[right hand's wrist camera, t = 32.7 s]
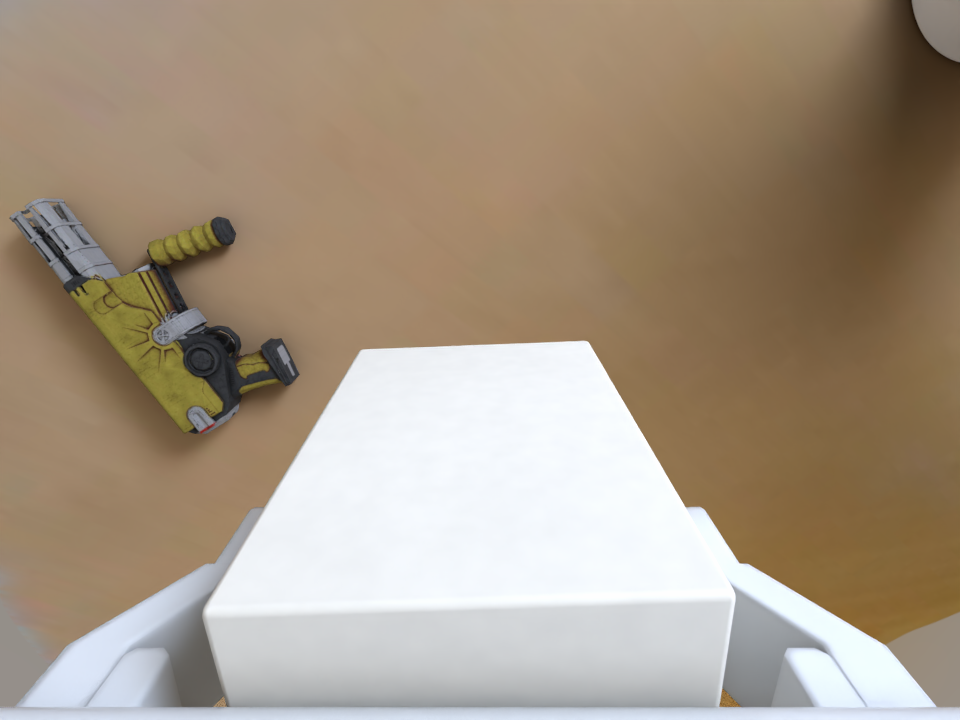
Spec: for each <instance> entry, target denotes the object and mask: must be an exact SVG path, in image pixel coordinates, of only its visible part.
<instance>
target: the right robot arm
mask: <svg viewBox="0 0 960 720" xmlns="http://www.w3.org/2000/svg"><path fill="white" fill-rule="evenodd" d="M912 6H913V11H914V15H915V18H916V21H917V24H918V26H919V28H920V30H921V32H922V34H923V35H924V37H925V38H926V40H927V41H928V42H929V43H930V45H931V46H932V47H933V48H934V49H935V50H937V51H938V52H939V53H940V54H942V55H944V56H945V57H947V58H949V59H951V60H954V61H956V62H960V0H912ZM685 508H686V509H687V511H688V513H689V514H690V516H691V518H692V520H693V521H694V523H695V525H696V526H697V528H698V530H699V531H700V533H701V535H702V537H703V538H704V540H705V542H706V543H707V545H708V547H709V549H710V550H711V552H712V554H713V555H714V557H715V559H716V560H717V562H718V564H719V566H720V567H721V569H722V571H723V572H724V574H725V576H726V577H727V579H728V581H729V583H730V584H731V586H732V588H733V590H734V592H735V597H736V600H735V607H734V613H733V620H732V627H731V633H730V640H729V646H728V653H727V659H726V666H725V672H724V679H723V686H722V688H723V689H724V690H725V691H726V692H727V693H728V694H729V695H730V696H731V697H732V698H733V699H734V700H735V701H736V702H737V703H738V704H739V705H740V706H741V707H213V706H214V705H215V704H216V703H217V702H218V701H219V700H220V699H221V698H222V697H223V696H224V695H223V691H222V687H221V684H220V680H219V677H218V673H217V669H216V666H215V662H214V658H213V655H212V651H211V648H210V644H209V640H208V637H207V633H206V629H205V626H204V622H203V619H202V614H203V609H204V606H205V604H206V603H207V601H208V599H209V598H210V596H211V594H212V593H213V591H214V589H215V588H216V586H217V585H218V583H219V581H220V580H221V578H222V576H223V575H224V573H225V571H226V570H227V568H228V566H229V565H230V563H231V562H232V560H233V558H234V557H235V555H236V553H237V552H238V550H239V548H240V547H241V545H242V543H243V542H244V540H245V539H246V537H247V535H248V534H249V532H250V530H251V529H252V527H253V525H254V524H255V522H256V520H257V519H258V517H259V516H260V514H261V512H262V511H263V509H264V507H255V508H253V509H251V510H250V511H249V512H248V514H247V515H246V517H245V518H244V520H243V521H242V523H241V524H240V526H239V527H238V529H237V530H236V532H235V533H234V535H233V536H232V538H231V539H230V541H229V542H228V544H227V545H226V547H225V548H224V550H223V552H222V553H221V555H220V556H219V558H218V559H217V561H216V562H215V564H205V565H203V566H202V567H200V568H198V569H197V570H195V571H193V572H191V573H190V574H188V575H186V576H185V577H183V578H181V579H180V580H178V581H176V582H174V583H173V584H171V585H169V586H168V587H166V588H164V589H162V590H161V591H159V592H157V593H156V594H154V595H152V596H151V597H149V598H147V599H145V600H144V601H142V602H140V603H139V604H137V605H135V606H133V607H132V608H130V609H128V610H127V611H125V612H123V613H122V614H120V615H118V616H116V617H115V618H113V619H111V620H110V621H108V622H106V623H104V624H103V625H101V626H99V627H98V628H96V629H94V630H93V631H91V632H89V633H87V634H86V635H84V636H82V637H81V638H79V639H77V640H75V641H74V642H72V643H70V644H69V645H67V646H66V647H65V649H64V650H63V651H62V652H61V653H60V654H59V656H58V657H57V658H56V659H55V660H54V662H53V663H52V664H51V665H50V666H49V667H48V669H47V670H46V671H45V672H44V673H43V675H42V676H41V677H40V678H39V679H38V680H37V682H36V683H35V684H34V685H33V686H32V688H31V689H30V690H29V691H28V692H27V693H26V695H25V696H24V697H23V698H22V699H21V700H20V702H19V703H18V704H17V705H16V706H15V707H0V720H960V707H936V705H935V704H934V703H933V702H932V700H931V699H930V698H929V697H928V696H927V694H926V693H925V692H924V691H923V690H922V688H921V687H920V686H919V685H918V684H917V682H916V681H915V680H914V679H913V678H912V676H911V675H910V674H909V673H908V672H907V670H906V669H905V668H904V667H903V665H902V664H901V663H900V662H899V661H898V659H897V658H896V657H895V656H894V655H893V653H892V652H891V651H890V650H889V649H888V647H887V646H885V645H884V644H882V643H880V642H879V641H877V640H875V639H874V638H872V637H870V636H869V635H867V634H865V633H863V632H862V631H860V630H858V629H857V628H855V627H853V626H852V625H850V624H848V623H847V622H845V621H843V620H842V619H840V618H838V617H837V616H835V615H833V614H831V613H830V612H828V611H826V610H825V609H823V608H821V607H820V606H818V605H816V604H815V603H813V602H811V601H810V600H808V599H806V598H805V597H803V596H801V595H800V594H798V593H796V592H794V591H793V590H791V589H789V588H788V587H786V586H784V585H783V584H781V583H779V582H778V581H776V580H774V579H773V578H771V577H769V576H768V575H766V574H764V573H762V572H761V571H759V570H757V569H756V568H754V567H752V566H751V565H749V564H739V562H738V560H737V559H736V557H735V556H734V554H733V553H732V551H731V550H730V548H729V547H728V545H727V544H726V542H725V540H724V539H723V537H722V536H721V534H720V533H719V531H718V530H717V528H716V527H715V525H714V524H713V522H712V521H711V519H710V517H709V516H708V514H707V513H706V511H705V510H704V509H703V508H701V507H685Z"/></svg>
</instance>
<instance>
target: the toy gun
mask: <svg viewBox="0 0 960 720" xmlns="http://www.w3.org/2000/svg"><path fill="white" fill-rule="evenodd" d="M48 202H58V203H59V204H57V205H54V206H50V205H49V204H48ZM33 205H34V206H35V207H36V208H37V209H38V211H39V212H40V213H41V214H42V215H39V214H38V213H37V212H36V211H35V210H34V209H33V208H32V206H33ZM25 207H26V210H25V211H17V212H16V213H14V214H13V215H11V216H10V219H11V220H12V222H14V223H15V224H16V225H17V227H18V228H19V229H20V231H21V232H22V233H23V235H24V236H25V237H26V239H27V240H28V241H29V243H30V244H31V245H33V246H34V247H35V248H36V250H37V251H38V252H39V253H40V255H41V256H42V257H43V258H44V259H45V261H46V262H47V263H48V265H49V266H50V268H52V269H53V270H54V272H55V273H56V274H57V276H58V277H59V278H60V280H61V281H62V282H63V283H64V289H65V290H66V291H67V292H68V293H69V294H70V296H71V297H72V298H73V299H74V300H75V302H76V303H77V304H78V305H79V307H80V308H81V309H82V310H83V311H84V313H85V314H86V315H87V316H88V317H89V319H90V320H91V321H92V322H93V324H94V325H95V326H96V327H97V328H98V330H99V331H100V332H101V333H102V334H103V336H104V337H105V338H106V339H107V341H108V342H109V343H110V344H111V345H112V347H113V348H114V349H115V350H116V352H117V353H118V354H119V355H120V356H121V358H122V359H123V360H124V361H125V362H126V364H127V365H128V366H129V367H130V369H131V370H132V371H133V372H134V373H135V375H136V376H137V377H138V378H139V379H140V381H141V382H142V383H143V384H144V386H145V387H146V388H147V389H148V390H149V392H150V393H151V394H152V395H153V396H154V398H155V399H156V400H157V401H158V403H159V404H160V405H161V406H162V407H163V409H164V410H165V411H166V412H167V413H168V415H169V416H170V417H171V418H172V420H173V421H174V422H175V423H176V424H177V426H178V427H179V428H180V429H181V431H182V432H183V433H187V432H191V433H195V434H199V433H206V434H207V433H208V432H210V431H212V430H213V429H215V428H217V427H218V426H220V425H221V424H223V423H225V422H226V421H228V420H229V419H230V418H231V417H232V416H233V415H234V414H235V413H236V412H237V411H238V408H239V403H240V401H241V397H242V394H243V393H245V392H247V391H249V390H252V389H255V388H258V387H261V386H264V385H269V384H275V383H281V382H283V383H284V385H285V386H287V385H290V384H291V383H292V382H293V381H294V380H295V379H296V378H297V377H298V376H299V375H300V374H299V372H298V370H297V368H296V366H295V364H294V362H293V360H292V358H291V356H290V354H289V352H288V350H287V348H286V346H285V344H284V343H283V341H282V339H272V338H271V339H270V340H268V341H267V342H266V343H264V344H263V345H262V346H261V348H262V350H259V351H257V352H256V353H254V354H246V355H244V356H241V355H238V354H239V352H240V348H241V342H240V338H239V336H238V335H237V334H236V333H234V332H233V331H232V330H231V329H230V328H229V327H224V326H215V327H212V328H209V327H206V326H204V324H205V323H207V320H206V319H205V318H204V316H203V315H202V314H201V312H200V311H199V310H198V308H196V307H195V308H192V309H190V310H188V308H187V306H186V304H185V302H184V300H183V298H182V296H181V294H180V292H179V290H178V288H177V286H176V284H175V282H174V280H173V278H172V276H171V274H170V273H169V271H168V269H167V267H166V266H167V265H170V264H172V263H174V261H182V260H185V259H186V258H187V256H191V257H194V256H197V255H198V254H199V253H200V252H201V251H204V252H208V251H211V249H212V248H213V247H214V246H215V247H219V248H220V247H222V246H224V245H231V244H233V242H234V240H235V235H236V233H235V231H234V229H233V227H232V225H231V224H230V222H229V220H228V219H225V218H222V217H216V218H214V219H212V220H210V221H208V222H207V223H205V224H204V225H203V226H194V227H193V228H192V229H191V230H190V231H189V230H183V231H181V232H180V233H178V234H177V235H169V236H167V237H165V239H164V240H159V239H157V240H154V241H152V242H149V244H148V248H149V249H147V252H148V254H149V256H150V258H151V260H152V262H153V263H150V264H148V265H146V266H143V267H141V268H138V269H135V270H134V271H133V272H132V273H129V274H126V275H121V274H120V273H119V272H118V270H117V269H116V268H115V267H114V265H113V263H112V261H110V260H109V259H108V258H107V257H106V255H105V254H104V253H103V251H102V250H101V249H100V246H99V245H98V244H96V243H95V241H94V240H93V239H92V238H91V236H90V235H89V234H88V233H87V232H86V230H85V229H84V228H83V227H82V223H81V222H80V221H78V220H77V218H76V217H75V216H74V215H73V213H72V212H71V211H70V210H69V208H68V207H67V206H66V205H65V202H64V201H63V199H37V200H35V201H33V202H31V203H29V204H27V205H26V206H25ZM53 209H56V211H57V212H58V213H59V214H60V216H61V217H62V218H63V219H61V218H60V217H59V216H58V214H57V213H56V212H55V211H54V210H53ZM29 212H31V213H32V214H33V217H31V218H25V217H24V216H23V214H27V213H29ZM44 218H45V219H44ZM29 221H32V222H33V223H34V225H35V226H36V227H32V226H31V224H30V223H29ZM218 330H221V331H223V332H225V333H227V334H229V335H230V336H231V337H232V338H233V339H231V338H230V337H229V336H228V335H226V334H224V333H221V332H219V331H218ZM233 340H234V341H235V343H234V341H233Z"/></svg>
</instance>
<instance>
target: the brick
mask: <svg viewBox="0 0 960 720" xmlns="http://www.w3.org/2000/svg"><path fill="white" fill-rule="evenodd" d="M735 600H736V597H735V592H734V590H733V588H732V586H731V584H730V583H729V581H728V579H727V577H726V576H725V574H724V572H723V571H722V569H721V567H720V566H719V564H718V562H717V560H716V559H715V557H714V555H713V554H712V552H711V550H710V549H709V547H708V545H707V543H706V542H705V540H704V538H703V537H702V535H701V533H700V531H699V530H698V528H697V526H696V525H695V523H694V521H693V520H692V518H691V516H690V514H689V513H688V511H687V509H686V508H685V506H684V504H683V503H682V501H681V499H680V497H679V496H678V494H677V492H676V491H675V489H674V487H673V485H672V484H671V482H670V480H669V479H668V477H667V475H666V474H665V472H664V470H663V468H662V467H661V465H660V463H659V462H658V460H657V458H656V457H655V455H654V453H653V451H652V450H651V448H650V446H649V445H648V443H647V441H646V439H645V438H644V436H643V434H642V433H641V431H640V429H639V428H638V426H637V424H636V422H635V421H634V419H633V417H632V416H631V414H630V412H629V411H628V409H627V407H626V405H625V404H624V402H623V400H622V399H621V397H620V395H619V393H618V392H617V390H616V388H615V387H614V385H613V383H612V382H611V380H610V378H609V376H608V375H607V373H606V371H605V370H604V368H603V366H602V365H601V363H600V361H599V359H598V358H597V356H596V354H595V353H594V351H593V349H592V347H591V346H590V344H589V342H587V341H574V342H548V343H522V344H496V345H470V346H444V347H418V348H393V349H367V350H361V351H359V353H358V355H357V356H356V358H355V359H354V361H353V363H352V364H351V366H350V368H349V369H348V371H347V373H346V374H345V376H344V378H343V379H342V381H341V382H340V384H339V386H338V387H337V389H336V391H335V392H334V394H333V396H332V397H331V399H330V401H329V402H328V404H327V405H326V407H325V409H324V410H323V412H322V414H321V415H320V417H319V419H318V420H317V422H316V424H315V425H314V427H313V428H312V430H311V432H310V433H309V435H308V437H307V438H306V440H305V442H304V443H303V445H302V447H301V448H300V450H299V451H298V453H297V455H296V456H295V458H294V460H293V461H292V463H291V465H290V466H289V468H288V470H287V471H286V473H285V474H284V476H283V478H282V479H281V481H280V483H279V484H278V486H277V488H276V489H275V491H274V493H273V494H272V496H271V497H270V499H269V501H268V502H267V504H266V506H265V507H264V509H263V511H262V512H261V514H260V516H259V517H258V519H257V520H256V522H255V524H254V525H253V527H252V529H251V530H250V532H249V534H248V535H247V537H246V539H245V540H244V542H243V543H242V545H241V547H240V548H239V550H238V552H237V553H236V555H235V557H234V558H233V560H232V562H231V563H230V565H229V566H228V568H227V570H226V571H225V573H224V575H223V576H222V578H221V580H220V581H219V583H218V585H217V586H216V588H215V589H214V591H213V593H212V594H211V596H210V598H209V599H208V601H207V603H206V604H205V606H204V609H203V614H202V619H203V622H204V626H205V629H206V633H207V637H208V640H209V644H210V648H211V651H212V655H213V658H214V662H215V666H216V669H217V673H218V677H219V680H220V684H221V687H222V691H223V695H224V698H225V702H226V706H227V707H719V705H720V699H721V692H722V686H723V679H724V672H725V666H726V659H727V653H728V646H729V640H730V633H731V627H732V620H733V613H734V607H735Z"/></svg>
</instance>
